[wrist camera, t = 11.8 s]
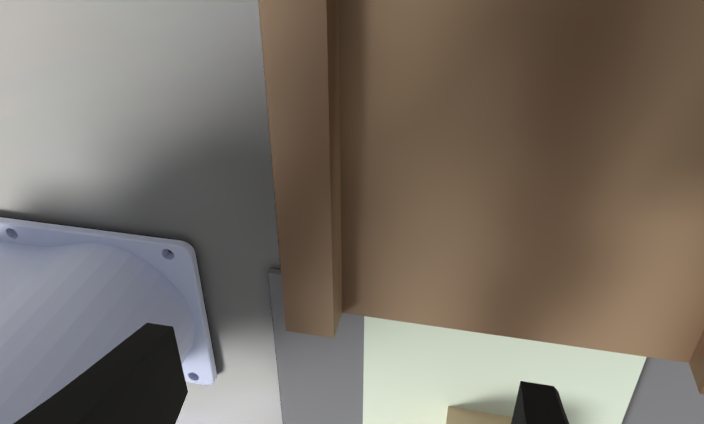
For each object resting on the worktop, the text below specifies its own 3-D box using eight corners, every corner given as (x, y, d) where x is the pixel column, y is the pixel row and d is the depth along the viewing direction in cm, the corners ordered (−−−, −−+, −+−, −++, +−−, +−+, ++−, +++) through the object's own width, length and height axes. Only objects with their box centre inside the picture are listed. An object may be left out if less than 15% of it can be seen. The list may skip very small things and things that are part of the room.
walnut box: (318, 254, 23) (285, 330, 19) (297, -291, 14) (231, -329, 11) (716, 305, 20) (761, 403, 17) (990, -316, 12) (1197, -375, 8)
